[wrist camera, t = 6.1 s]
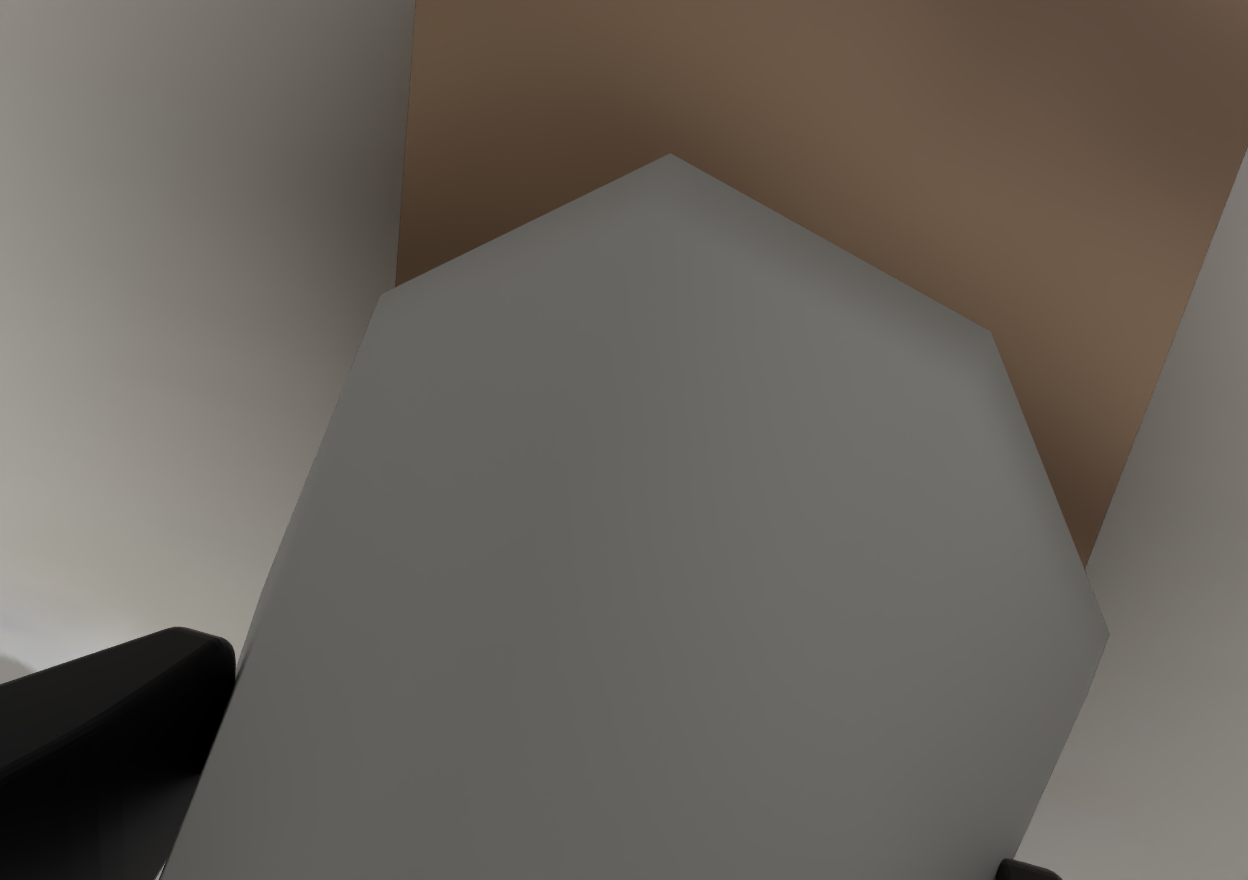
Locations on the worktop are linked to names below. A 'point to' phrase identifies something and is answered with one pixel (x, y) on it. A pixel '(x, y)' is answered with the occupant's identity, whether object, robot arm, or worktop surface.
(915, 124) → the walnut board
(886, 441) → the flask
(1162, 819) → the worktop surface
